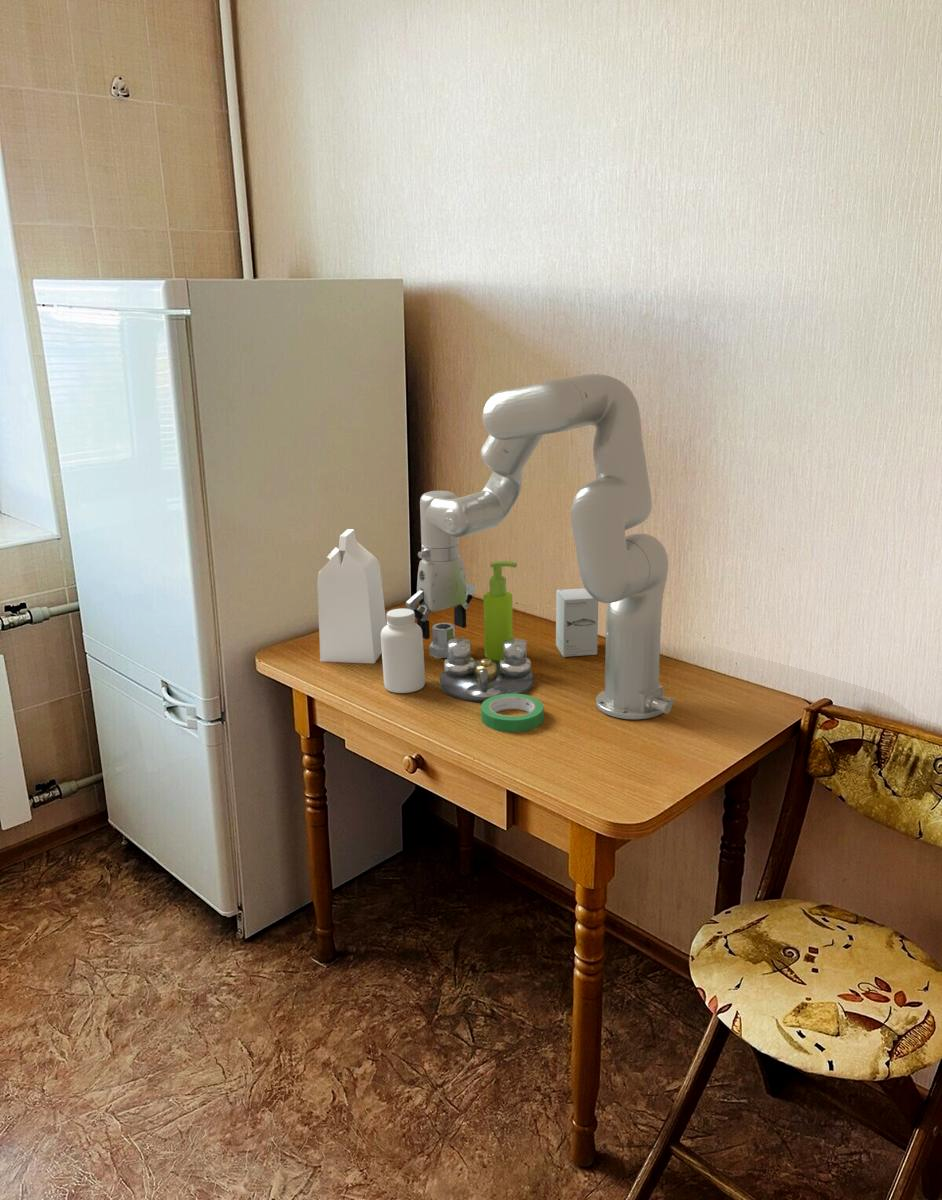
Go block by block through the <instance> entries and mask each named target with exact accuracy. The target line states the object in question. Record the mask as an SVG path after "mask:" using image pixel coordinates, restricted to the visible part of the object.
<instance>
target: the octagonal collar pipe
mask: <svg viewBox="0 0 942 1200" xmlns="http://www.w3.org/2000/svg"><path fill="white" fill-rule="evenodd" d="M431 629H432V642H430V644H429V656H430V655H431V656H430V657H432V656H433V658H435V659H441V658H448V641H449V640H451V639H456V636H455V633H456V632H455V624H454V623H453V624H452V623H450V622H439V623H435V624H433V625H432V628H431Z"/></svg>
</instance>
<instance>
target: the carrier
mask: <svg viewBox="0 0 942 1200" xmlns="http://www.w3.org/2000/svg"><path fill="white" fill-rule="evenodd" d="M531 664H532V663H531V659H529V658H528V657H527V641H526V640H525V639H522V638H513V639H508V640H505V641H504V658H503V659H501V660H492V659H488V658H486V657H485V658H482V659H480V660H479V659H478V660H475V659H474V658H473V657H472V655H471V641H470V639H467V638H463V637H462V638H461V637H460V638H459V637H458V638H456V637H455V639H451V640H449V641H448V658H447V659H445V660H444V661H443V665H444V666H443V668H444V670H443V672H442V673H441V674H440V677H439V687H441V688H440V689H441V690H442V692H443V693H444V694H446V695H447V696H449V697H452V698H453V699H456V700H457V699H458V700H460V701H466V702H472V703H473V702H475V703H483V702H484V701H485V700H486V699H488V698H490V697H493V696H496V695H500V694H524V695H526V693H528V692H529V691H530V690H531V689H532V688H533V686H534V675H533V673H532V671H531V669H532V667H531V666H532V665H531Z"/></svg>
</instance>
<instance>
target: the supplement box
mask: <svg viewBox="0 0 942 1200" xmlns="http://www.w3.org/2000/svg"><path fill="white" fill-rule="evenodd" d="M555 593H556V594H555V595H556V596H555V597H556V598H555V600H556V602H555V608H556V609H555V620H556V622H555V646H556V648H557V649H558V651H559V653H560V654H561V656H562V657H563V658H566V657H578V656H582V657H583V656H597V654H598V630H599V629H598V628H599V627H598V626H599V625H598V624H599V623H598V621H599V601H597V600H596V599H594V598H593V597H592V596H591V595H590V594H589V593H588V592H587V590H586V589H585V587H584V588H570V589H567V588H566V589H556V591H555Z"/></svg>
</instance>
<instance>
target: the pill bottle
mask: <svg viewBox="0 0 942 1200" xmlns="http://www.w3.org/2000/svg"><path fill="white" fill-rule="evenodd" d="M385 616H386V626H385V627H384V628H383V629H382V631H381V648H382V653H381V660H382V672H383V673H382V674H383V675H382V676H383V686H384V688H385V689H386V690H387V691H388V692H391V693H396V694H409V693H413V692H417V691H420V690H421V689H422V688H424V687H425V683H426V671H425V670H426V669H425V654H424V638H423V634H422V629H421V627H420V626H419V625H417V622H416V623H415V621H416V618H415V612H414V611H413V610H411V609H408V608H394V609H391V610H389V611H387V612H386V613H385Z"/></svg>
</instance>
